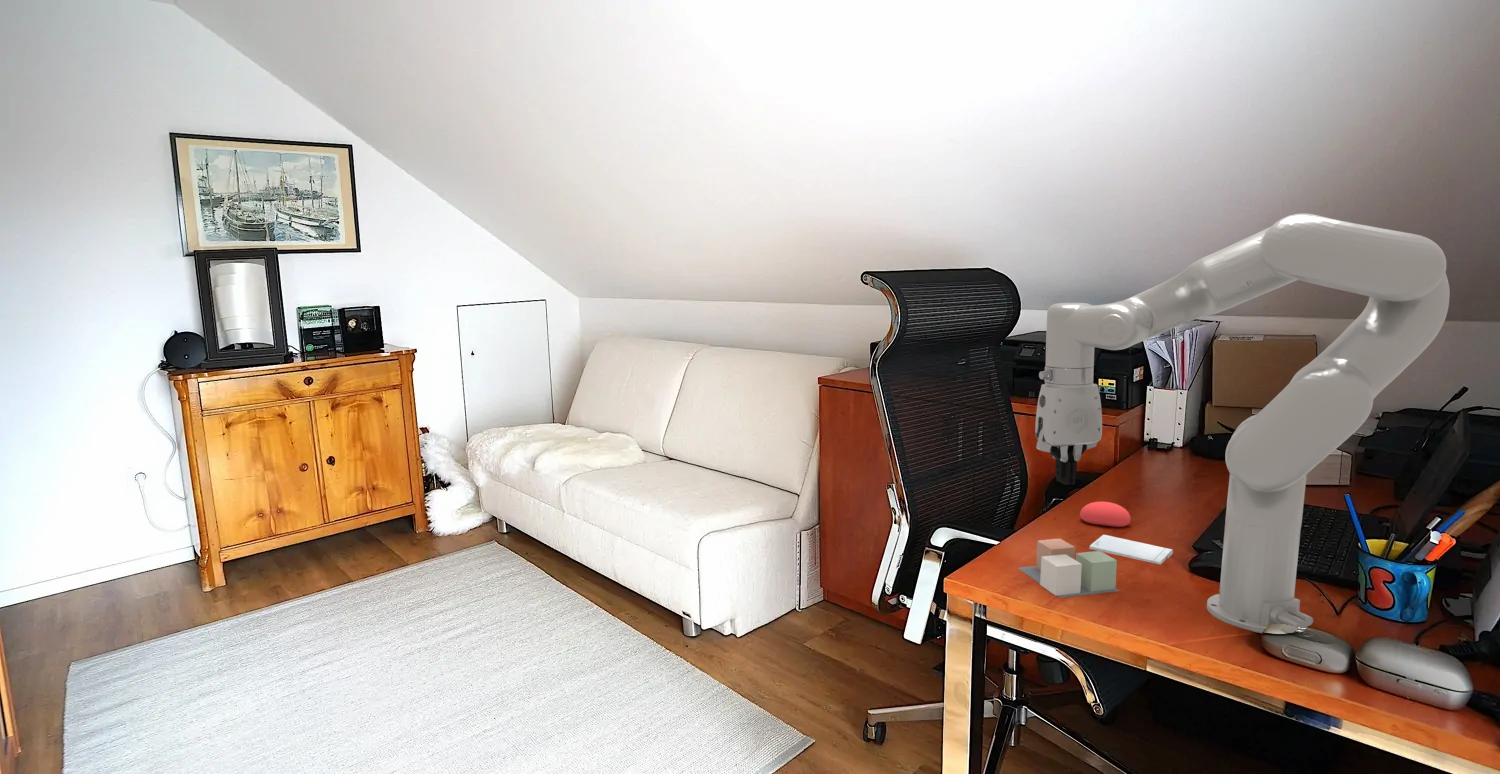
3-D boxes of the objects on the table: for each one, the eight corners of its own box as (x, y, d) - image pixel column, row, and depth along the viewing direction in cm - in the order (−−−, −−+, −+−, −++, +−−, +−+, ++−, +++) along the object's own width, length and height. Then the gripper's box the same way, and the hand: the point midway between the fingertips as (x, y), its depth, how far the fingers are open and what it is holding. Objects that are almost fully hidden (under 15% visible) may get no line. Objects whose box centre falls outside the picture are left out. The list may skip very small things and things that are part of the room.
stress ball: (1118, 539, 159) (1134, 512, 158) (1075, 516, 163) (1091, 489, 163) (1119, 540, 163) (1135, 514, 163) (1078, 517, 168) (1093, 491, 167)
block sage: (1115, 589, 131) (1117, 560, 130) (1091, 591, 130) (1092, 562, 129) (1098, 578, 135) (1099, 550, 134) (1074, 581, 134) (1076, 553, 133)
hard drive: (1089, 545, 149) (1160, 560, 141) (1103, 533, 155) (1173, 547, 147) (1088, 553, 149) (1160, 569, 141) (1103, 541, 155) (1172, 556, 147)
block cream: (1080, 592, 129) (1081, 564, 129) (1055, 595, 128) (1056, 566, 128) (1064, 582, 134) (1065, 554, 133) (1040, 584, 133) (1041, 556, 132)
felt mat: (1119, 593, 130) (1119, 590, 130) (1059, 599, 128) (1059, 597, 128) (1072, 563, 143) (1072, 561, 143) (1017, 569, 140) (1017, 567, 140)
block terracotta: (1073, 574, 137) (1075, 547, 136) (1050, 577, 136) (1051, 549, 135) (1058, 565, 141) (1059, 538, 140) (1035, 567, 140) (1037, 540, 139)
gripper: (1040, 382, 127) (1037, 492, 130) (1123, 377, 130) (1118, 484, 133) (1016, 376, 134) (1014, 480, 137) (1094, 371, 137) (1091, 473, 140)
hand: (1065, 482), depth 135 cm, fingers closed
